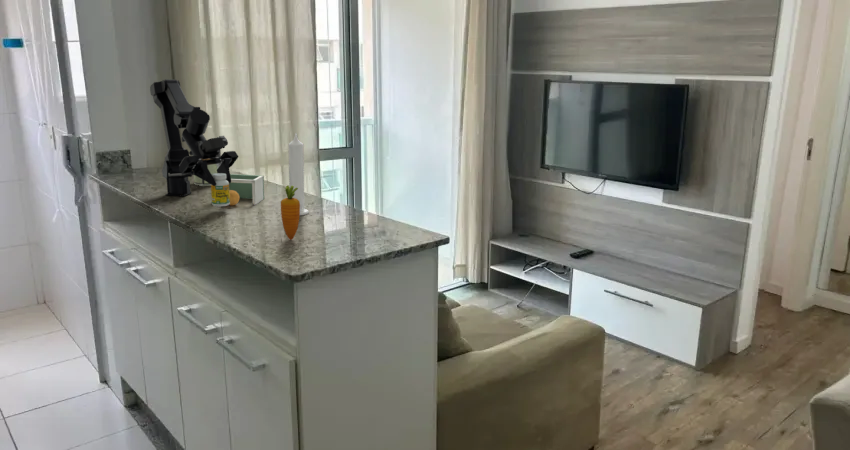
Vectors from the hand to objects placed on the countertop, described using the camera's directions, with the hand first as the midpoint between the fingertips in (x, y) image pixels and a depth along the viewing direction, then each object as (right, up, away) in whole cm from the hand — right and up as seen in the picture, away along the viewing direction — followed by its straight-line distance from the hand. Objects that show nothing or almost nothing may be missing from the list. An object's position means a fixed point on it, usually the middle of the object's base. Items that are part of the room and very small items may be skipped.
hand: (222, 183), depth 191 cm
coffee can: (-20, +3, +44) cm, 49 cm away
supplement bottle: (-1, -6, +3) cm, 7 cm away
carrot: (+26, -17, -25) cm, 40 cm away
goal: (-1, -4, +18) cm, 19 cm away
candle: (+22, -9, +5) cm, 24 cm away
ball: (-1, -4, +11) cm, 12 cm away
